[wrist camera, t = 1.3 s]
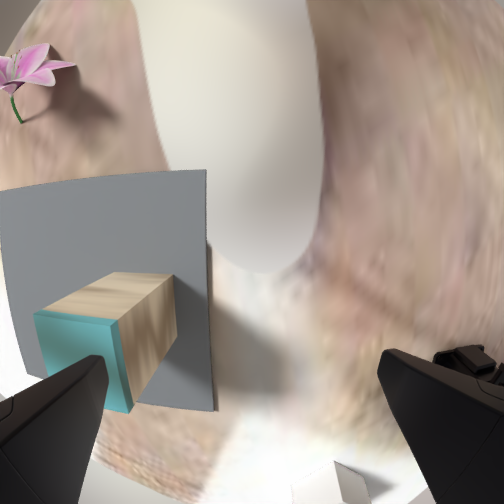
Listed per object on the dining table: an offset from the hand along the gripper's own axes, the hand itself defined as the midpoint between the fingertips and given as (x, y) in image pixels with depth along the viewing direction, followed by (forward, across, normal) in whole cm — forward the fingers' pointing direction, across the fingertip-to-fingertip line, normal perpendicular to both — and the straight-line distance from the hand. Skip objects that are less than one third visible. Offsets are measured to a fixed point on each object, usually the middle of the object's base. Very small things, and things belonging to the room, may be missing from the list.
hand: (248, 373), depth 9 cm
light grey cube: (+10, -11, +25) cm, 29 cm away
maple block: (+14, +7, +4) cm, 16 cm away
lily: (+18, +19, -16) cm, 30 cm away
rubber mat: (+15, +12, +4) cm, 20 cm away
